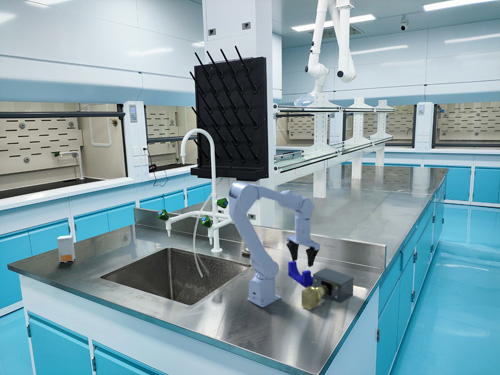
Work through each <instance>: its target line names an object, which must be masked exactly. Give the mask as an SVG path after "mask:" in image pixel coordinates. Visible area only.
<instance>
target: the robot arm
mask: <svg viewBox="0 0 500 375" xmlns="http://www.w3.org/2000/svg"><path fill="white" fill-rule="evenodd" d="M227 197H228V214H229V217H230V219H231V220H232V223H233V224H234V226H235V228H236V229H237V231H238V233H239V235H240V237H241V239H242V240H243V242H244V245H245V246H246V248H247V250H248V251H249V253H250V255H249V258H250V260H251V267H252V269H253V270H254V277H253V278H252V279H250V280H249V282H248V297H247V298H246V299H247V301H249V302H252V303H253V304H255V305H257V306H259V307H261V308H264V307H267V306H268V305H270V304H272V303H274V302H276V301H278V300H280V299H281V295H279V294H276V277H277V275H278V273H279V272H280V265H279V264H278V263H277V261H275V260H273V257H272V256H271V255H270V254H269V253H268V252H267V251H266V248H265V247H264V245H263V243H262V241H261V239H260V238H259V236H258V233H257V232H256V230H255V228H254V226H253V224H252V222H251V220H250V218H249V215H248V212H249V211H250V209H251V208H252V207H253V206H254V204H255V202H256V201H257V200H258V201H260V200H261V199H262V198H265V199H269V200H272V201H276V202H277V204H278V205H279V206H280V207H283V208H286V209H288V210H291V211H294V235H291V234H289V235H286V237H285V238H286V240H285V241H287V242H288V243H286V247H287V248H288V250H289V253H290V256H291V261H296V262H297V261H298V258H299V255H298V254H299V248H300V245H302V246H304V247H308V248H306V249H305V252H306V256H307V266H308V267H309V268H311V267H313V266H314V263H315V259H316V257H317V255H318V253H319V251H320V250H321V243H318V242H316V241H315V240H313V239H312V237H311V226H312V225H311V220H312V214H313V211H314V208H315V204H314V203H313V201H312V199H311V198H309V197H305V196H303V194H300V193H298V194H297V193H294V192H293V190H290V189H287V190H283V191H280V192H279V191H276V190H273V189H271V188H268V187H265V186H263V185H259V184H257V183H256V184H255V183H249V182H243V181H240V180H239V181H234V182H233V183H232V184H231V185H230V187H229V190H228V192H227Z"/></svg>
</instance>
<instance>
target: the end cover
mask: <svg viewBox="0 0 500 375" xmlns="http://www.w3.org/2000/svg"><path fill="white" fill-rule="evenodd" d="M326 294H328V288H327V286H325V285H320V286H319V287H317V288H315V287H313V286H307V287H305V288H304V289H302V290H301V307H303V308H305V309H307V310H310V311H311V310H313V309H315V308H316V307H318V305H319V304H320V302H321V301H322V298H323V297H324V296H325V295H326Z"/></svg>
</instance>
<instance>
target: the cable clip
mask: <svg viewBox="0 0 500 375" xmlns="http://www.w3.org/2000/svg"><path fill="white" fill-rule="evenodd" d="M287 267H288V268H287V269H288V273H287V276H288V277H290V278H291V279H292V280H294V281H295V282H297V283H298V284H299V285H301V286H302V287H303V288H308V287H312V286H313V275H312V271H311V270H309V269H307V270H303V271H302V273H300V271H299V269H298V265H297V260H296V261H292V260H291V261H287Z"/></svg>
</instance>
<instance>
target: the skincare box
mask: <svg viewBox="0 0 500 375" xmlns="http://www.w3.org/2000/svg"><path fill="white" fill-rule="evenodd" d="M56 242H57V251H58V259H59V263H60V262H64V263H68V262H67V261H73V262H75V260H76V255H75V254H76V253H75V246H74V235H73V234H72V235H62V236H58V237H57V239H56ZM74 259H75V260H74Z"/></svg>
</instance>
